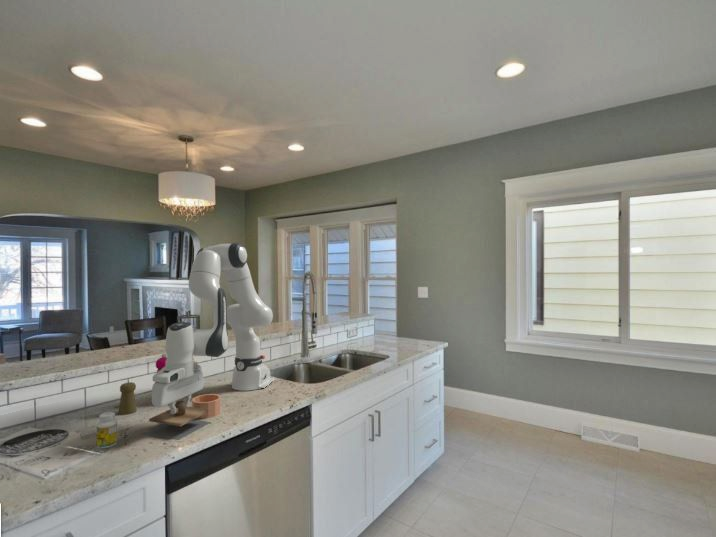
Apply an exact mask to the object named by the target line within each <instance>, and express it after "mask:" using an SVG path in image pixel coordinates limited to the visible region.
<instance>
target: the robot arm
mask: <svg viewBox="0 0 716 537" xmlns="http://www.w3.org/2000/svg"><path fill="white" fill-rule="evenodd" d="M248 255H249V254H248V251H247V248H246V247H245V246H244V245H243V244H242V243H238V242H232V243H219V244H215V245H211V246H204V247H202V248H199V250H198V251H197V253H196V255H195V259H194V261H193V263H192V266H191V270H190V273H189V277H188V289H189V291H190V293H191V294H192V295H194V296H195V297H196V298H198V299H200V300H201V301H204V302H208V303H210V304H211V305H212V307H213V327H211V328H209V329H208V328H205V329H204V328H194V327H193V325H192V323H190V322H187V321H181V322H175V323H172V324H170V325H169V326H168V327H167V331H166V336H165V337H166V338H165V354H166V357H167V359H166V366H165V367H164V368H162V369H161V370H160V371H159V372H157V371H156V373H154V374H153V376H152V381H153V382H154V383H153V385H152V388H151V404H152V406H154V407H157V408H163V407H165V406H168V408H169V410H170V409H171V414H176V413H178V408H177V407H175V405H174V404H176V402H177V401H180V400H181V399H183V401H185V409H186V408H188V407H190V406H189V405H190V404H189V403H190V402H191V401H190V400H192V394H195V393H197V392H200V391H202V390H203V389H204V386H205V381H204V380H205V379H204V378H205V377H204V374H203V373H204V372H203V369H202V366H201V365H199V364H195V363H194V362H195V359H194V357H193V356H195V357H197V356H198V357H199V356H200V357H206V356H207V357H212V358H219V357H221V356H222V355H223V354H224V353H225V352H226V351H227V350H228V348H229V335H228V334H229V333H228V325H229V327H230V328H231V330H232V332H233V335H234V339H235V356H234V365H235V366H234V367H233V371H232V378H231V379H232V380H231V382H230V384H229V385H230V386H231V385H232V386H231V389H232V388H233V390H236V391H240V392H241V391H243V392H244V391H255V390H261V388H264V389H266V388H267V387H268V386H270V385H271V384H272V383H273V382H275V381H276V378H275V377H273V376H271V370H270V367H268V366H267V365H266V364H264V363H263V360H266V355H265V354H261V339H260V337H259V336H258V335H257V334H256V332H255V331H254V329H262V328H267V327H269V326H270V325H271V323H272V321H273V319H274V314H273V313H274V312H273V310H272V308H270V307H269V306H268V305H267V304H266V303H264V302H263V300H262V299H261V297H260V296H259V295H258V293H257V291H256V288H255V285H254V282H253V278H252V274H251V271H250V268H249V266H248V263H247V262H248V258H249V256H248ZM222 271H223V272H224V278H225V281H226V284H227V289H228V293H229V295H230V297H231V298H232V299H233V300H235V302H237V303H234V304H230V305H228V306H227V304H228V303H227V294H226V291H225V290H224V288H221V285H220V280H221V279H220V278H221V272H222ZM274 380H275V381H274ZM272 381H273V382H272ZM271 382H272V383H271ZM270 383H271V384H270ZM269 384H270V385H269ZM267 385H268V386H267ZM266 386H267V387H266ZM265 387H266V388H265Z"/></svg>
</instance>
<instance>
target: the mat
mask: <svg viewBox="0 0 716 537" xmlns="http://www.w3.org/2000/svg"><path fill="white" fill-rule="evenodd" d="M211 423H212V422H211V421H204V420H200V419H194V420H192V421H190V422H188V423H186V424H184V425H182V426H175V425H169V424H163V423H160V424H159V425H157V426H155V427H152V428H150V429H148V430H146V431H144V432H142V435H149V436H154V437H159V438H163V439H164V438H165V439H171V440H176V441H179V440H181V439H183V438H185V437H187V436H189V435H191V434H192V433H194V432H197V431H198V430H199V429H201V428H203V427H205V426H207V425H209V424H211Z"/></svg>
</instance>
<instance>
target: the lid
mask: <svg viewBox="0 0 716 537" xmlns="http://www.w3.org/2000/svg"><path fill="white" fill-rule="evenodd" d="M174 405H175V407H177V408H178V413H176V414H171V409H170V408H169V409H168V410H166V411H164V412H161V413H159V414H157V415H154V416H151V417H150V418H148V419H149V420H148V421H149V422H152V423H158V424H169V425H175V426H182V425H184V424H186V423H188V422H190V421H192V420H197V419H199V418H198V417H199V416H201V415H203V414H205V413H207V412H208V409H201V408H194V407H192V406H189V407H188V408H186V409H185V401H184V400H177V401H176V404H174Z"/></svg>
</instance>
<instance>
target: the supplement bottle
mask: <svg viewBox="0 0 716 537" xmlns="http://www.w3.org/2000/svg"><path fill="white" fill-rule="evenodd" d="M98 419H99V421H98V422H97V424H96V439H95V440H96V443H95V444H96V448H97V449H107V448H111V447H113V446H115V445H117V443H118V427H119V426H118V419H116V412H115V411H114V412H113V411H106V412H103V413H101V414H99V418H98Z"/></svg>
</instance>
